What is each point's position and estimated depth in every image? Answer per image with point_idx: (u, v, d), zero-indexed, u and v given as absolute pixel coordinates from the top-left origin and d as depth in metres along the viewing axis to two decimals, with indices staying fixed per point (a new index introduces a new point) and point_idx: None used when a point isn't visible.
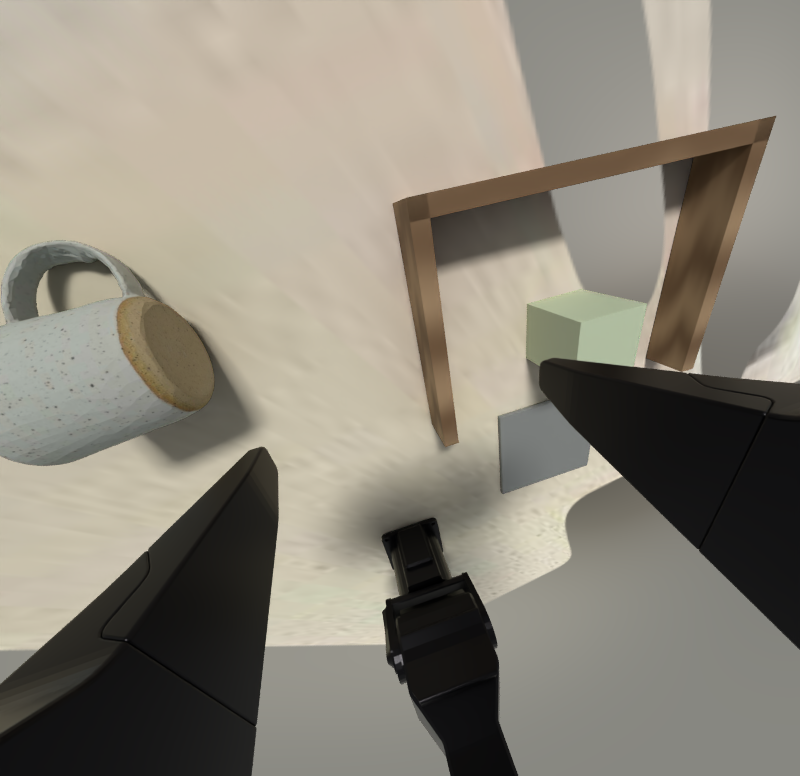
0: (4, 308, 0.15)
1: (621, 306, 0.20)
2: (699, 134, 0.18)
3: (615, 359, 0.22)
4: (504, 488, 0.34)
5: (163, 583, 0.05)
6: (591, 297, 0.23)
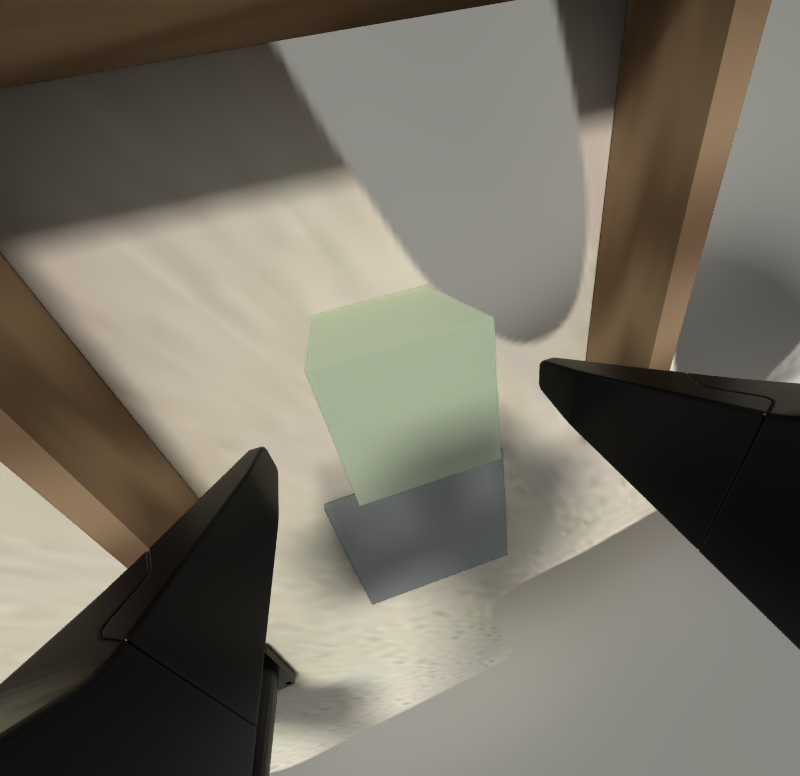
0: None
1: (435, 326, 0.08)
2: None
3: (449, 445, 0.09)
4: (373, 597, 0.22)
5: (163, 583, 0.05)
6: (417, 301, 0.11)
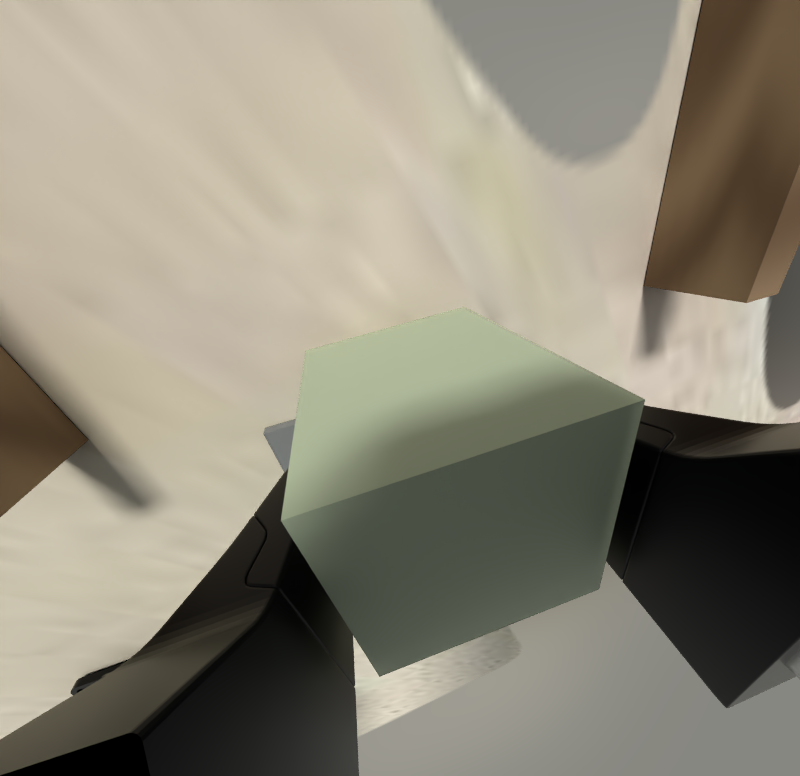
0: None
1: (525, 407, 0.04)
2: None
3: (527, 586, 0.06)
4: None
5: (287, 541, 0.05)
6: (464, 339, 0.07)
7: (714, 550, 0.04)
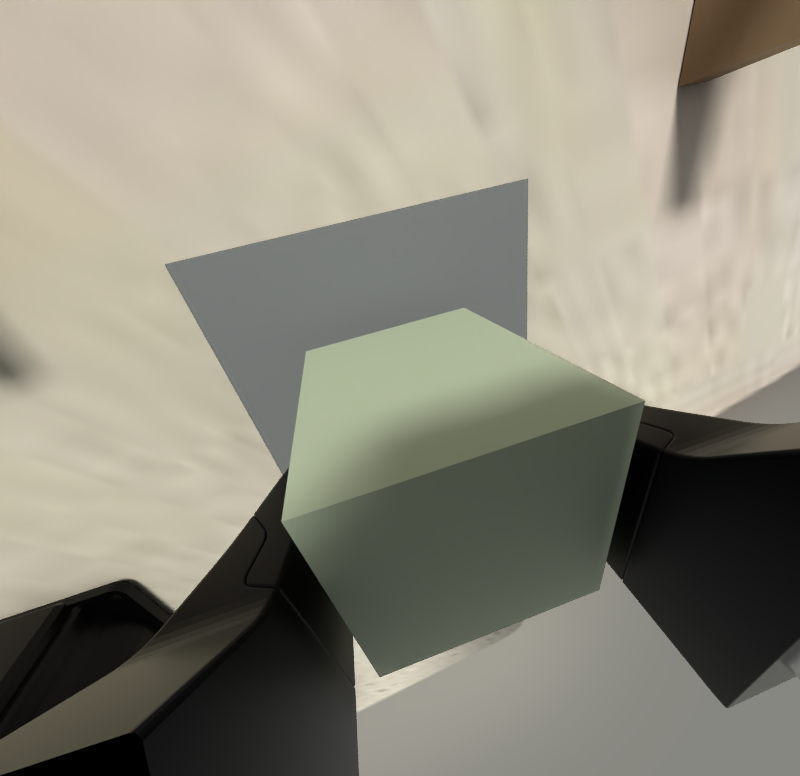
0: None
1: (525, 408, 0.04)
2: None
3: (527, 587, 0.06)
4: None
5: (287, 541, 0.05)
6: (464, 340, 0.07)
7: (714, 550, 0.04)
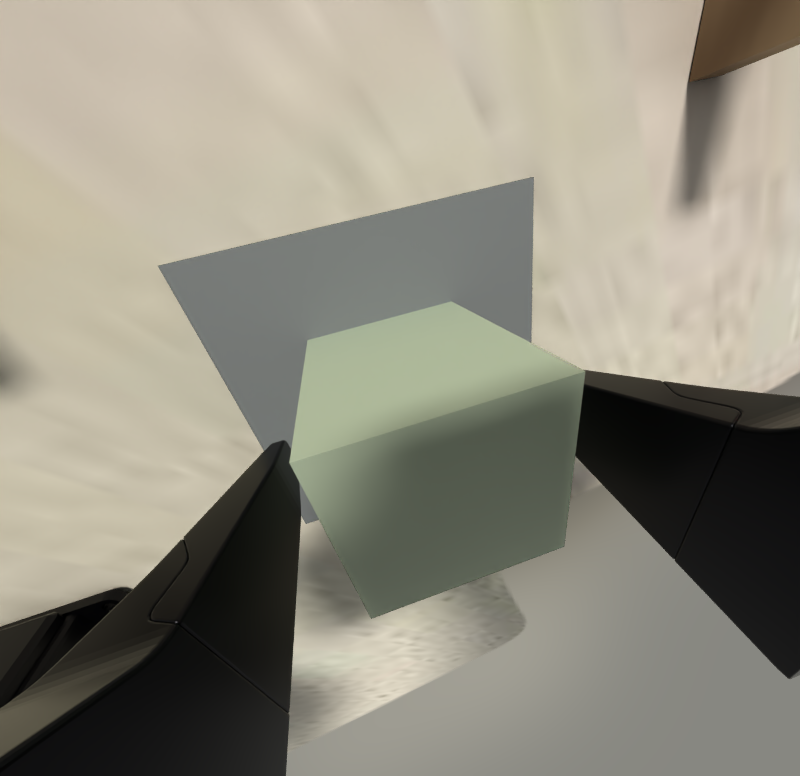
0: None
1: (490, 379, 0.05)
2: None
3: (498, 538, 0.07)
4: (305, 509, 0.13)
5: (204, 569, 0.05)
6: (448, 328, 0.08)
7: (788, 521, 0.04)
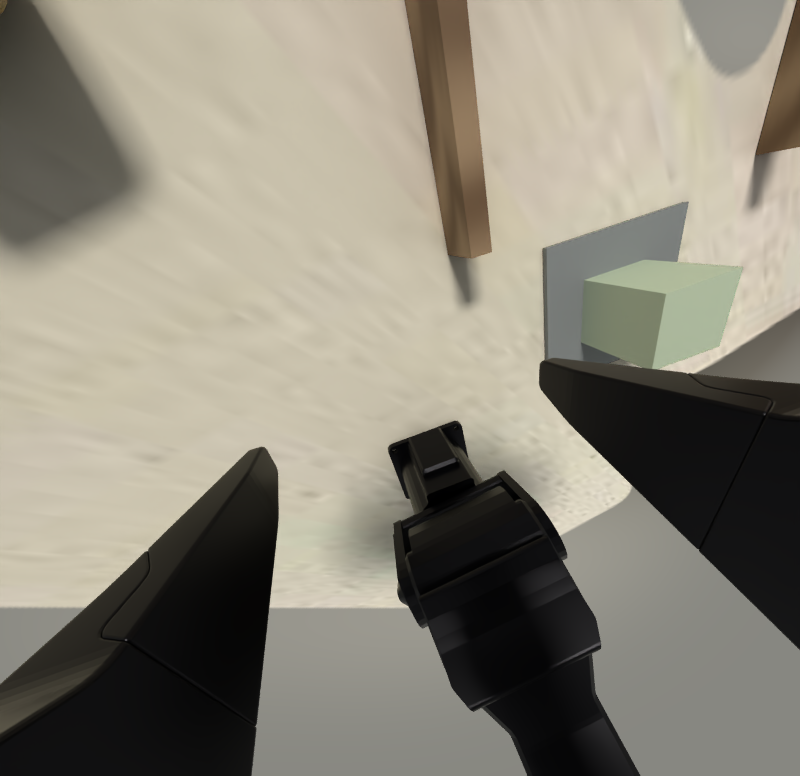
0: None
1: (710, 273, 0.17)
2: None
3: (701, 336, 0.19)
4: None
5: (163, 583, 0.05)
6: (663, 266, 0.20)
7: None
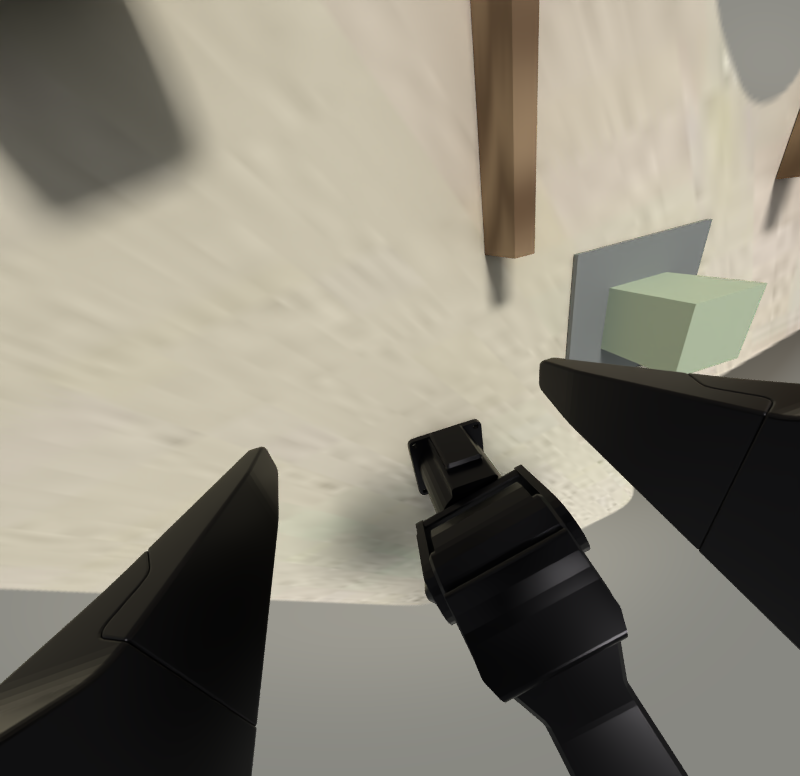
0: None
1: (735, 287, 0.18)
2: None
3: (722, 347, 0.19)
4: None
5: (163, 583, 0.05)
6: (688, 279, 0.21)
7: None
